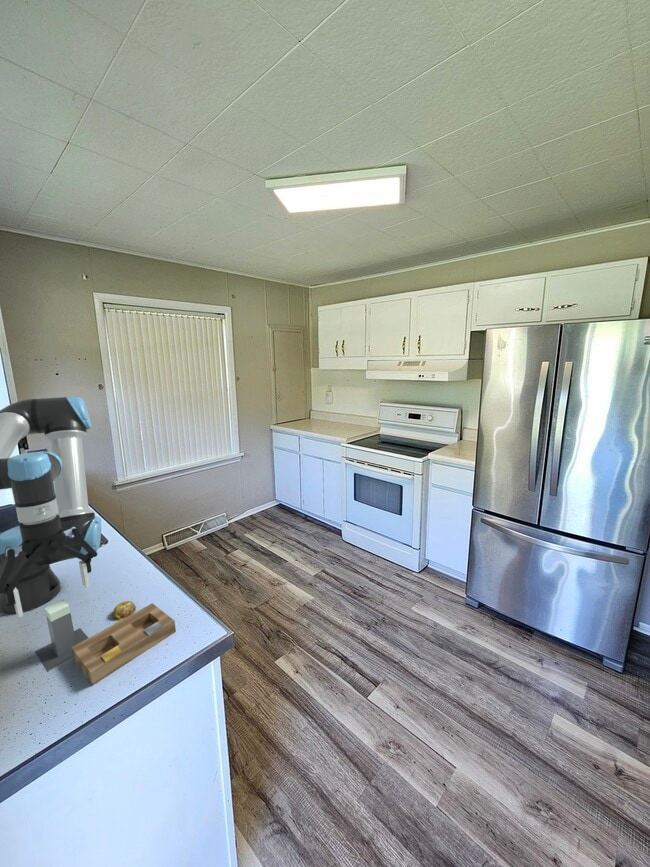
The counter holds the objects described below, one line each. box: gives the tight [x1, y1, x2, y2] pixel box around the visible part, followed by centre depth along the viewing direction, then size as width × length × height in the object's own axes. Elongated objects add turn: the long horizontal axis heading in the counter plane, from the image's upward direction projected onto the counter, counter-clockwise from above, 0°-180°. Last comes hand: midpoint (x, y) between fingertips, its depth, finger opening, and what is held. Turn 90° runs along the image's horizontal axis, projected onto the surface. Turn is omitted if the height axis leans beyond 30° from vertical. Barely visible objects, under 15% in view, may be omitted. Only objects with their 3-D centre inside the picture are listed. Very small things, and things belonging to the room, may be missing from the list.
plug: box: [44, 599, 76, 657], centre depth 89 cm, size 4×4×12 cm
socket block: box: [71, 603, 177, 686], centre depth 90 cm, size 12×20×4 cm, turn 142°
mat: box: [34, 627, 89, 672], centre depth 90 cm, size 10×10×1 cm
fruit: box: [112, 600, 137, 623], centre depth 102 cm, size 8×8×4 cm
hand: (55, 599), depth 87 cm, fingers open, 13 cm apart
